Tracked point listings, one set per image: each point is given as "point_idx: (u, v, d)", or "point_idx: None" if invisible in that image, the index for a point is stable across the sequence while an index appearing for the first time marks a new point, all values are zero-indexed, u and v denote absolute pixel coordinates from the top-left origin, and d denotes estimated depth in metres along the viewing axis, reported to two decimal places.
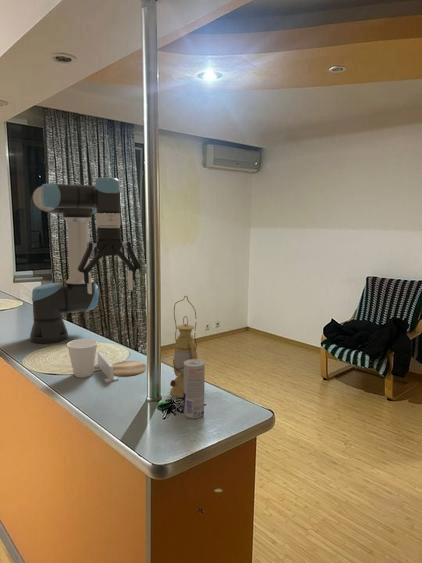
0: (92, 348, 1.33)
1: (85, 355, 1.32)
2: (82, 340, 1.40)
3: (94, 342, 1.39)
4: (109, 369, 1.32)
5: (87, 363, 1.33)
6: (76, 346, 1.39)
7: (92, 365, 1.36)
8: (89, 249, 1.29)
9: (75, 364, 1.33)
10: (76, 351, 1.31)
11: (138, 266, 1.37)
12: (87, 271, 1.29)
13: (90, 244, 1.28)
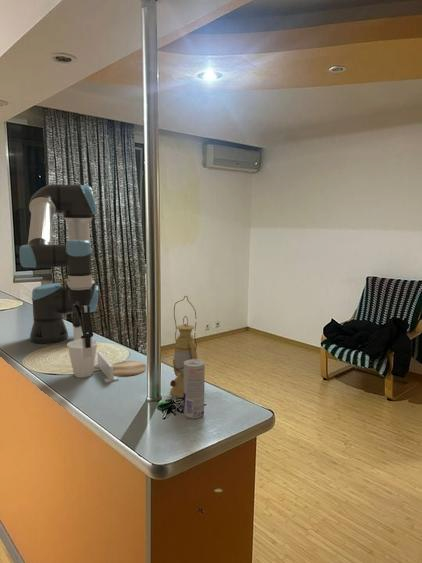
0: (92, 348, 1.33)
1: None
2: None
3: (94, 342, 1.39)
4: (109, 369, 1.32)
5: (87, 363, 1.33)
6: (76, 346, 1.39)
7: (92, 365, 1.36)
8: (73, 305, 1.38)
9: (75, 364, 1.33)
10: (76, 351, 1.31)
11: (84, 334, 1.26)
12: (73, 324, 1.40)
13: (72, 301, 1.38)
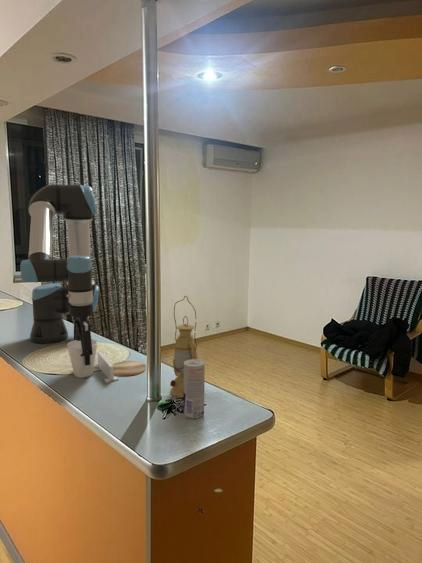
0: (92, 348, 1.33)
1: None
2: None
3: (94, 342, 1.39)
4: (109, 369, 1.32)
5: None
6: (76, 346, 1.39)
7: (92, 365, 1.36)
8: None
9: (75, 364, 1.33)
10: (77, 351, 1.31)
11: (84, 353, 1.28)
12: None
13: (73, 317, 1.39)
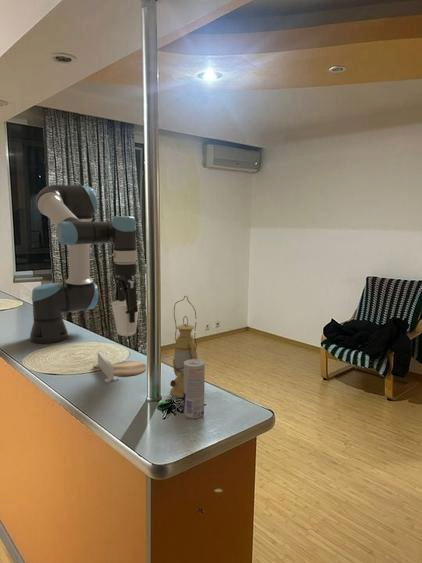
0: None
1: None
2: (124, 301, 1.43)
3: None
4: (109, 369, 1.32)
5: None
6: None
7: (135, 324, 1.39)
8: (116, 283, 1.42)
9: (119, 322, 1.36)
10: (121, 309, 1.34)
11: (129, 309, 1.32)
12: None
13: (116, 278, 1.42)
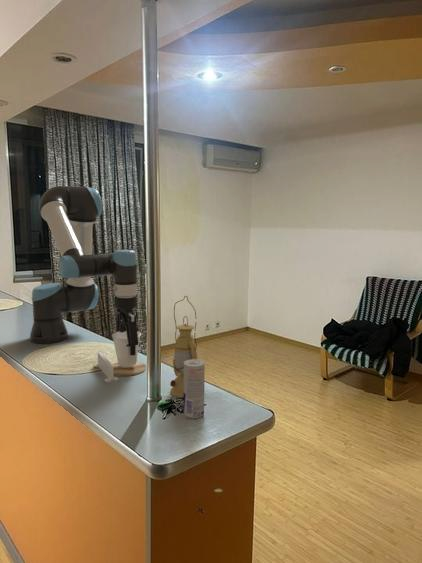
0: None
1: None
2: (125, 332, 1.45)
3: (137, 333, 1.44)
4: (109, 369, 1.32)
5: None
6: (119, 337, 1.44)
7: (136, 355, 1.41)
8: (117, 314, 1.44)
9: (120, 354, 1.38)
10: (122, 341, 1.36)
11: (130, 343, 1.33)
12: None
13: (117, 309, 1.44)
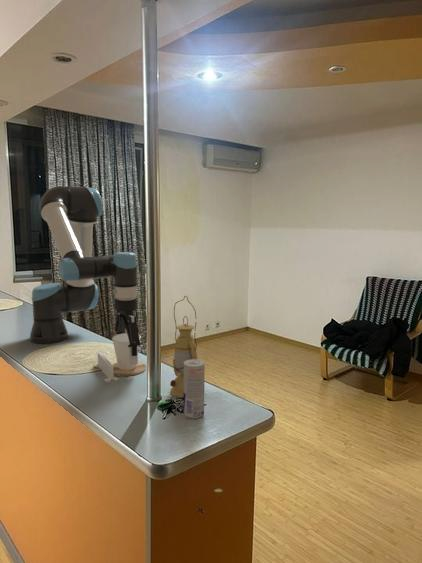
0: None
1: None
2: (125, 334, 1.45)
3: None
4: (109, 369, 1.32)
5: None
6: (119, 340, 1.44)
7: None
8: (117, 314, 1.45)
9: (120, 357, 1.38)
10: (122, 345, 1.36)
11: (132, 344, 1.32)
12: (116, 332, 1.46)
13: (117, 310, 1.44)
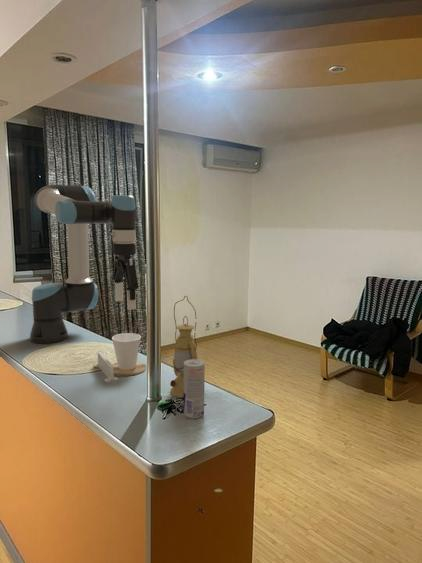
0: (136, 342, 1.39)
1: (130, 348, 1.38)
2: (125, 334, 1.45)
3: (137, 336, 1.44)
4: (109, 369, 1.32)
5: (132, 356, 1.39)
6: (119, 340, 1.44)
7: (136, 358, 1.41)
8: (115, 261, 1.42)
9: (120, 357, 1.38)
10: (122, 345, 1.36)
11: (130, 286, 1.29)
12: (114, 280, 1.44)
13: (115, 256, 1.41)
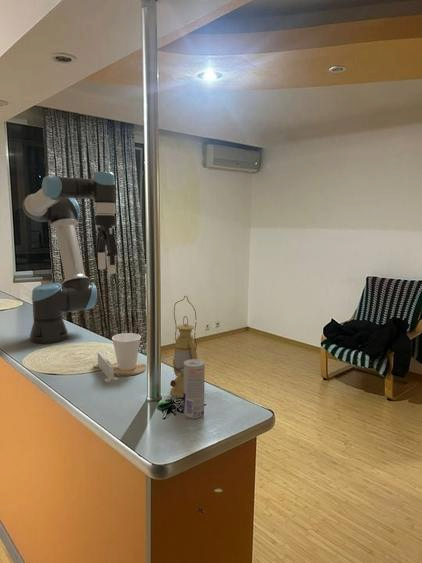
0: (136, 342, 1.39)
1: (130, 348, 1.38)
2: (125, 334, 1.45)
3: (137, 336, 1.44)
4: (109, 369, 1.32)
5: (132, 356, 1.39)
6: (119, 340, 1.44)
7: (136, 358, 1.41)
8: None
9: (120, 357, 1.39)
10: (122, 344, 1.36)
11: (109, 252, 1.45)
12: (97, 250, 1.60)
13: (97, 228, 1.57)
